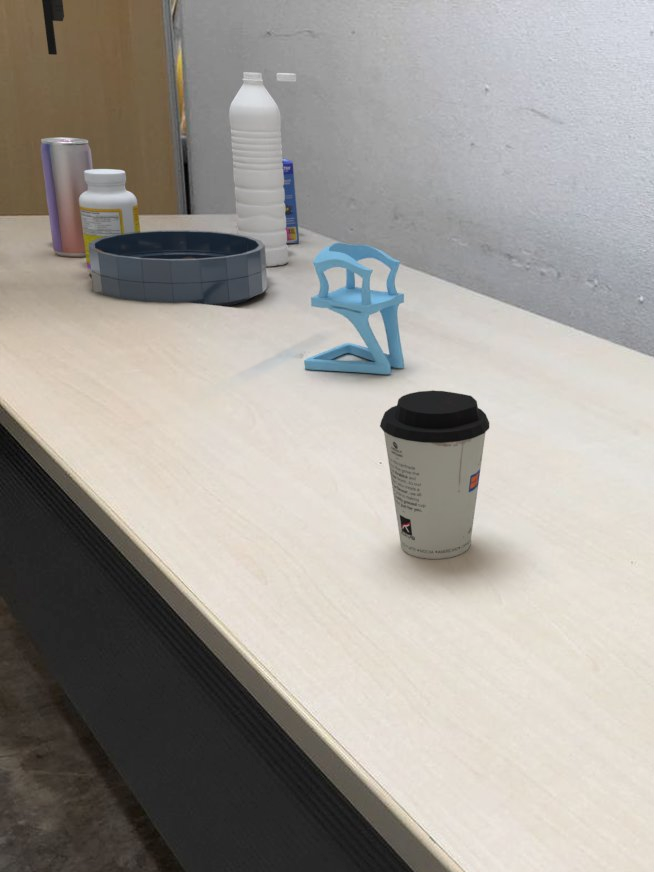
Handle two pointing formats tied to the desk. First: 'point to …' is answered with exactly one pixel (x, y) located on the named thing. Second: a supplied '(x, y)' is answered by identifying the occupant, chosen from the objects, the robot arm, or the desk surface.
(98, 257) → the bowl
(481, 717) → the desk surface
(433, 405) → the coffee cup
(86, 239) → the supplement bottle
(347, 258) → the chair
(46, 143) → the beverage can
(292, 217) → the ink cartridge box
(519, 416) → the desk surface
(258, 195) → the water bottle
